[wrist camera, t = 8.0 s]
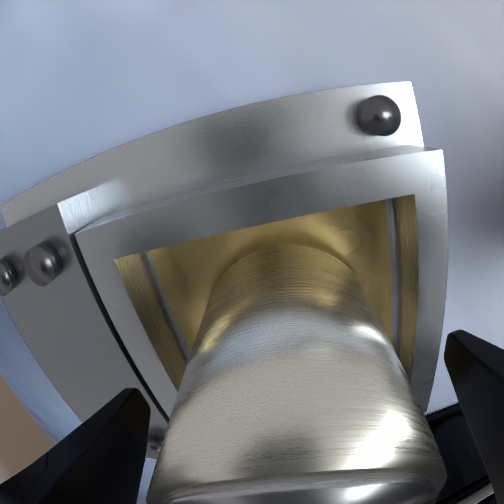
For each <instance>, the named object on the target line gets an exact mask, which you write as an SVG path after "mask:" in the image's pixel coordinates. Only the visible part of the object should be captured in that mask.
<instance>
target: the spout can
mask: <svg viewBox="0 0 504 504" xmlns="http://www.w3.org/2000/svg"><path fill="white" fill-rule="evenodd" d="M446 480H447V471H446V468H445V465H444V462H443V460H442V457H441V455H440V452H439V449H438V447H437V444H436V442H435V439H434V437H433V434H432V432H431V429H430V427H429V424H428V422H427V420H426V417H425V415H424V413H423V410H422V408H421V406H420V403H419V401H418V399H417V397H416V394H415V392H414V390H413V388H412V385H411V383H410V381H409V379H408V377H407V375H406V373H405V370H404V368H403V366H402V364H401V362H400V360H399V358H398V356H397V354H396V352H395V350H394V348H393V346H392V344H391V342H390V340H389V338H388V336H387V334H386V332H385V330H384V328H383V326H382V324H381V322H380V320H379V318H378V316H377V314H376V312H375V311H374V309H373V307H372V305H371V303H370V301H369V299H368V298H367V296H366V294H365V292H364V290H363V288H362V287H361V285H360V283H359V281H358V279H357V278H356V276H355V275H354V274H353V272H352V271H351V270H350V269H349V268H348V267H347V266H346V265H345V264H344V263H343V262H341V261H340V260H339V259H337V258H336V257H334V256H332V255H330V254H328V253H326V252H324V251H321V250H318V249H315V248H311V247H307V246H299V245H280V246H273V247H268V248H265V249H261V250H258V251H255V252H253V253H251V254H248V255H246V256H245V257H243V258H241V259H239V260H238V261H236V262H235V263H234V264H233V265H231V266H230V267H229V268H228V269H227V270H226V271H225V272H224V273H223V274H222V275H221V277H220V278H219V279H218V281H217V282H216V284H215V286H214V288H213V289H212V292H211V294H210V297H209V300H208V303H207V306H206V309H205V312H204V315H203V318H202V321H201V324H200V327H199V330H198V333H197V336H196V339H195V342H194V345H193V348H192V351H191V354H190V357H189V360H188V363H187V366H186V369H185V372H184V375H183V378H182V381H181V385H180V388H179V391H178V394H177V397H176V400H175V403H174V407H173V410H172V413H171V416H170V419H169V423H168V426H167V429H166V432H165V435H164V439H163V442H162V445H161V449H160V452H159V455H158V459H157V462H156V465H155V469H154V472H153V475H152V479H151V482H150V486H149V489H148V492H147V496H146V502H147V504H435V503H436V501H437V499H438V493H439V492H440V490H441V489H442V488H443V486H444V484H445V483H446Z"/></svg>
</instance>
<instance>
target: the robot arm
mask: <svg viewBox="0 0 504 504" xmlns="http://www.w3.org/2000/svg"><path fill="white" fill-rule="evenodd" d="M444 361H445V364H446V367H447V370H448V372H449V375H450V378H451V381H452V384H453V387H454V390H455V393H456V396H457V399H458V401H459V405H457V406H455V407H452V408H450V409H447V410H445V411H442V412H439V413H437V414H434V415H431V416H429V417H426V420H427V422H428V424H429V427H430V429H431V432H432V434H433V437H434V439H435V442H436V444H437V447H438V449H439V452H440V455H441V457H442V460H443V462H444V465H445V468H446V471H447V480H446V483H445V484H444V486H443V488H442V489H441V490H440V492H439V493H438V499H437V501H436V503H435V504H474V503H476V502H478V501H479V500H481V499H483V498H484V497H486V496H487V495H489V494H491V493H492V492H494V493H493V494H491V495H490V496H488V497H486V498H485V499H483V500H482V501H480V502H478V503H477V504H504V349H501V348H499V347H497V346H495V345H493V344H491V343H489V342H487V341H485V340H483V339H481V338H478V337H476V336H474V335H472V334H470V333H468V332H466V331H464V330H456V331H454V332H451V333H449V334H448V336H447V340H446V346H445V352H444ZM150 415H151V409H150V405H149V404H148V402H147V401H146V399H145V398H144V396H143V394H142V393H141V391H140V390H139V389H138V388H125V389H123V390H122V391H121V392H120V393H119V394H117V395H116V396H115V397H114V398H113V399H111V400H110V401H109V402H108V403H107V404H105V405H104V406H103V407H102V408H100V409H99V410H98V411H97V412H96V413H94V414H93V415H92V416H91V417H90V418H88V419H87V420H86V421H85V422H83V423H82V424H81V425H80V426H79V427H77V428H76V429H75V430H74V431H72V432H71V433H70V434H69V435H67V436H66V437H65V438H64V439H63V440H61V441H60V442H59V443H58V444H56V445H55V446H54V447H53V448H51V449H50V450H49V452H47V453H45V454H44V455H43V456H41V457H40V458H39V459H37V460H36V461H35V462H33V463H32V464H31V465H29V466H28V467H27V468H25V469H24V470H22V471H20V472H19V473H17V474H16V475H14V476H13V477H11V478H10V479H8V480H7V481H5V482H3V483H2V484H0V504H136V503H137V498H138V492H139V487H140V482H141V477H142V472H143V467H144V462H145V457H146V451H147V443H148V433H149V424H150Z"/></svg>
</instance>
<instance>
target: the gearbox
mask: <svg viewBox="0 0 504 504" xmlns="http://www.w3.org/2000/svg"><path fill="white" fill-rule="evenodd" d="M0 209H1V212H2V215H3V218H4V221H5V224H6V227H7V228H5V229H3V230H1V231H0V296H1V298H2V300H3V302H4V304H5V306H6V308H7V310H8V312H9V314H10V316H11V318H12V320H13V322H14V324H15V325H16V327H17V329H18V331H19V333H20V334H21V336H22V338H23V340H24V341H25V343H26V345H27V346H28V348H29V350H30V351H31V353H32V354H33V356H34V358H35V359H36V361H37V362H38V364H39V365H40V367H41V368H42V370H43V371H44V373H45V374H46V376H47V377H48V379H49V380H50V381H51V383H52V384H53V386H54V387H55V388H56V390H57V391H58V392H59V394H60V395H61V396H62V398H63V399H64V400H65V402H66V403H67V404H68V406H69V407H70V408H71V409H72V411H73V412H74V413H75V414H76V416H77V417H78V418H79V419H80V420H81V422H82V423H83V422H85V421H86V420H87V419H88V418H90V417H91V416H92V415H93V414H94V413H96V412H97V411H98V410H99V409H100V408H102V407H103V406H104V405H105V404H107V403H108V402H109V401H110V400H111V399H113V398H114V397H115V396H116V395H117V394H119V393H120V392H121V391H122V390H123V389H125V388H138V389H139V390H140V391H141V393H142V394H143V396H144V398H145V399H146V401H147V402H148V404H149V405H150V409H151V415H150V424H149V433H148V443H147V451H146V457H145V458H153V459H156V460H157V459H158V455H159V452H160V449H161V445H162V442H163V439H164V435H165V432H166V429H167V426H168V423H169V419H170V416H171V413H172V410H173V407H174V403H175V400H176V397H177V394H178V391H179V388H180V385H181V381H182V378H183V375H184V372H185V369H186V366H187V363H188V360H189V357H190V354H191V351H192V348H193V345H194V342H195V339H196V336H197V333H198V330H199V327H200V324H201V321H202V318H203V315H204V312H205V309H206V306H207V303H208V300H209V297H210V294H211V292H212V289H213V288H214V286H215V284H216V282H217V281H218V279H219V278H220V277H221V275H222V274H223V273H224V272H225V271H226V270H227V269H228V268H229V267H230V266H231V265H233V264H234V263H235V262H236V261H238V260H239V259H241V258H243V257H245V256H246V255H248V254H251V253H253V252H255V251H258V250H261V249H265V248H268V247H273V246H280V245H299V246H307V247H311V248H315V249H318V250H321V251H324V252H326V253H328V254H330V255H332V256H334V257H336V258H337V259H339V260H340V261H341V262H343V263H344V264H345V265H346V266H347V267H348V268H349V269H350V270H351V271H352V272H353V274H354V275H355V276H356V278H357V279H358V281H359V283H360V285H361V287H362V288H363V290H364V292H365V294H366V296H367V298H368V299H369V301H370V303H371V305H372V307H373V309H374V311H375V312H376V314H377V316H378V318H379V320H380V322H381V324H382V326H383V328H384V330H385V332H386V334H387V336H388V338H389V340H390V342H391V344H392V346H393V348H394V350H395V352H396V354H397V356H398V358H399V360H400V362H401V364H402V366H403V368H404V370H405V373H406V375H407V377H408V379H409V381H410V383H411V385H412V388H413V390H414V392H415V394H416V397H417V399H418V401H419V403H420V406H421V408H422V410H423V413H424V412H426V411H427V407H428V403H429V399H430V395H431V390H432V386H433V381H434V376H435V371H436V366H437V361H438V355H439V349H440V343H441V336H442V328H443V320H444V311H445V301H446V289H447V272H448V206H447V190H446V177H445V167H444V158H443V150H442V149H435V148H429V147H424V146H423V139H422V133H421V128H420V122H419V117H418V112H417V107H416V102H415V98H414V93H413V89H412V85H411V82H393V83H380V84H368V85H359V86H350V87H342V88H334V89H327V90H321V91H314V92H308V93H303V94H297V95H292V96H286V97H281V98H276V99H272V100H267V101H262V102H258V103H254V104H250V105H245V106H241V107H237V108H233V109H230V110H226V111H222V112H218V113H215V114H211V115H208V116H204V117H201V118H198V119H194V120H191V121H188V122H185V123H182V124H179V125H175V126H172V127H169V128H167V129H164V130H161V131H158V132H155V133H152V134H150V135H147V136H144V137H141V138H139V139H136V140H133V141H131V142H128V143H126V144H123V145H121V146H118V147H116V148H113V149H111V150H109V151H106V152H104V153H102V154H99V155H97V156H95V157H92V158H90V159H88V160H86V161H84V162H81V163H79V164H77V165H75V166H73V167H71V168H69V169H67V170H65V171H63V172H61V173H59V174H57V175H55V176H53V177H51V178H49V179H47V180H45V181H43V182H41V183H39V184H37V185H36V186H34V187H32V188H30V189H28V190H27V191H25V192H23V193H21V194H19V195H18V196H16V197H14V198H13V199H11V200H9V201H8V202H6V203H4V204H3V205H1V206H0Z"/></svg>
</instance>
